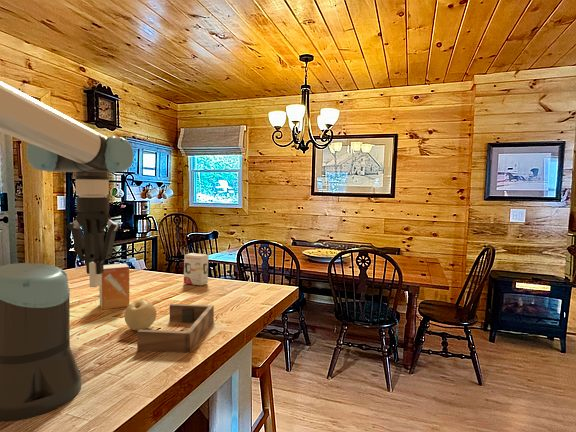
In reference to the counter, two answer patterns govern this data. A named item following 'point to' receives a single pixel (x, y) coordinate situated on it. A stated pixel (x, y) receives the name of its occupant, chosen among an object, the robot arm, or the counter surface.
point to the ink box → (196, 269)
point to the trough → (178, 339)
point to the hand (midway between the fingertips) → (95, 285)
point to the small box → (114, 286)
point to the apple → (140, 315)
